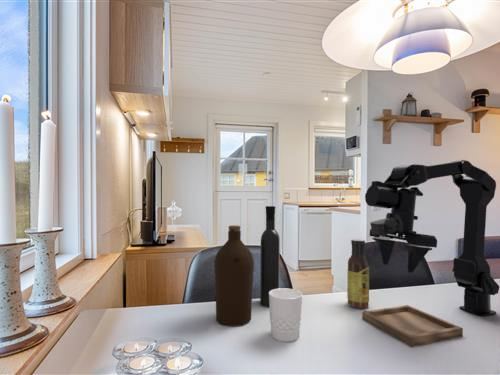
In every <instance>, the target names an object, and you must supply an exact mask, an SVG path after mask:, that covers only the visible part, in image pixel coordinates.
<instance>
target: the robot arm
mask: <svg viewBox="0 0 500 375" xmlns="http://www.w3.org/2000/svg"><path fill="white" fill-rule="evenodd" d="M464 175H465V176H464ZM449 176H451V177H452V182H453V184H454V185H455V186H456V187H458V188H459V197H460V198H461V200H462V202H463V203H464V205H465V210H464V224H463V225H464V227H463V241H462V253H461V254H460V255H459V257H458V258H457V257H454V258H453V266H452V267H453V268H452V270H451V271H452V272H453V276H454V277H453V278H455V281H456V285H457V286H458V287H460V288H464V289H463V290H464V293H463V305H460V306H459V309H460V310H462V311H466V312H467V313H471V314H475V315H477V316H480V317H484V316H485V317H486V316H489V315H490V316H491V315H496V314H497V311H496V310H492V309H491V308H492V307H491V296H495V295H498V294H499V290H500V285H499V284H498V283H497V282H496V281H495V279H494V278H493V277H492V274H491V266H490V265H489V263H488V261H487V259H486V257H485V240H486V239H485V238H486V225H487V224H486V223H487V207H488V206H489V204H490V203H491V201H492V200H493V199H494V198H495V193H496V189H497V182H496V180H495V179H494V177H492V176H491V175H490V174H489V173H488V172H487V171H486V170H483V169H481V168H479V167H477V166H475V165H473V164H472V163H471V162H470V161H469V160H466V159H460V160H454V161H450V162H445V163H439V164H432V165H425V164H416V163H415V164H406V165H398V166H394V167H393V168H392V171H391V173H390V175H389V176H388V177H387V178H386V180H384V182H382V181H379V180H376V181H375V180H372V181H371V185H370V186H369V187H367V190H366V192H365V193H364V199H365V200H364V201H365V203H366V205H367V206H368V207H373V208H382V209H390V212H387V213H386V215H385V218H382V219H378V220H374V221H371V222H369V224H370V229H369V237H371V239H372V240H373V241H375V243H377V245H378V248H379V251H380V255H381V260H382V264H383V265H385V266H387V265H389V263H390V259H391V256H392V252H393V250H394V247H395V243H396V240H402V241H405V242H406V243H407V244H404V246H405V248H406V250H407V252H408V254H407V256H408V258H407V271H408V273H410V274H412V273H414V271H415V270H416V268H417V267H418V266H419V264H420V262H421V261H422V260H423V258H424V257H425V256H426V255H427V254H428V252H429V251H433V248H438V239H437V238H436V236H435V235H431V234H423V233H417V231H414V224H415V223H414V222H415V221H418V219H419V216H418V215H415V212H416V211H415V210H416V201H417V200H416V199H417V197H423V196H424V193H423V192H422V191H421V190H420V189H419V188H418V187H417V186H419V185H421V184H425V183H426V182H428V181H429V180H431V179H436V178H443V177H444V178H445V177H449ZM393 239H395V240H393Z"/></svg>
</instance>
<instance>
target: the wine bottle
mask: <svg viewBox="0 0 500 375" xmlns="http://www.w3.org/2000/svg"><path fill="white" fill-rule="evenodd" d="M275 215H276V206H274V205H269V206H268V205H267V206H265V230H263V232H262V234H261V236H260V266H259V267H260V272H259V273H260V275H259V276H260V278H259V279H260V280H259V281H260V282H259V284H260V289H259V290H260V291H259V293H260V294H259V298H260V300H259V301H260V302H259V304H260V305H261V306H263V307H264V306H265V307H269V292H270V291H271V290H273V289H279V288H280V275H281V274H280V272H281V270H280V264H281V263H280V257H281V256H280V254H281V252H280V248H281V245H280V244H281V242H280V241H281V240H280V235H279V233H278V231H277V230H276V229H275V228H276V227H275V226H276V221H275V220H276V216H275Z"/></svg>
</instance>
